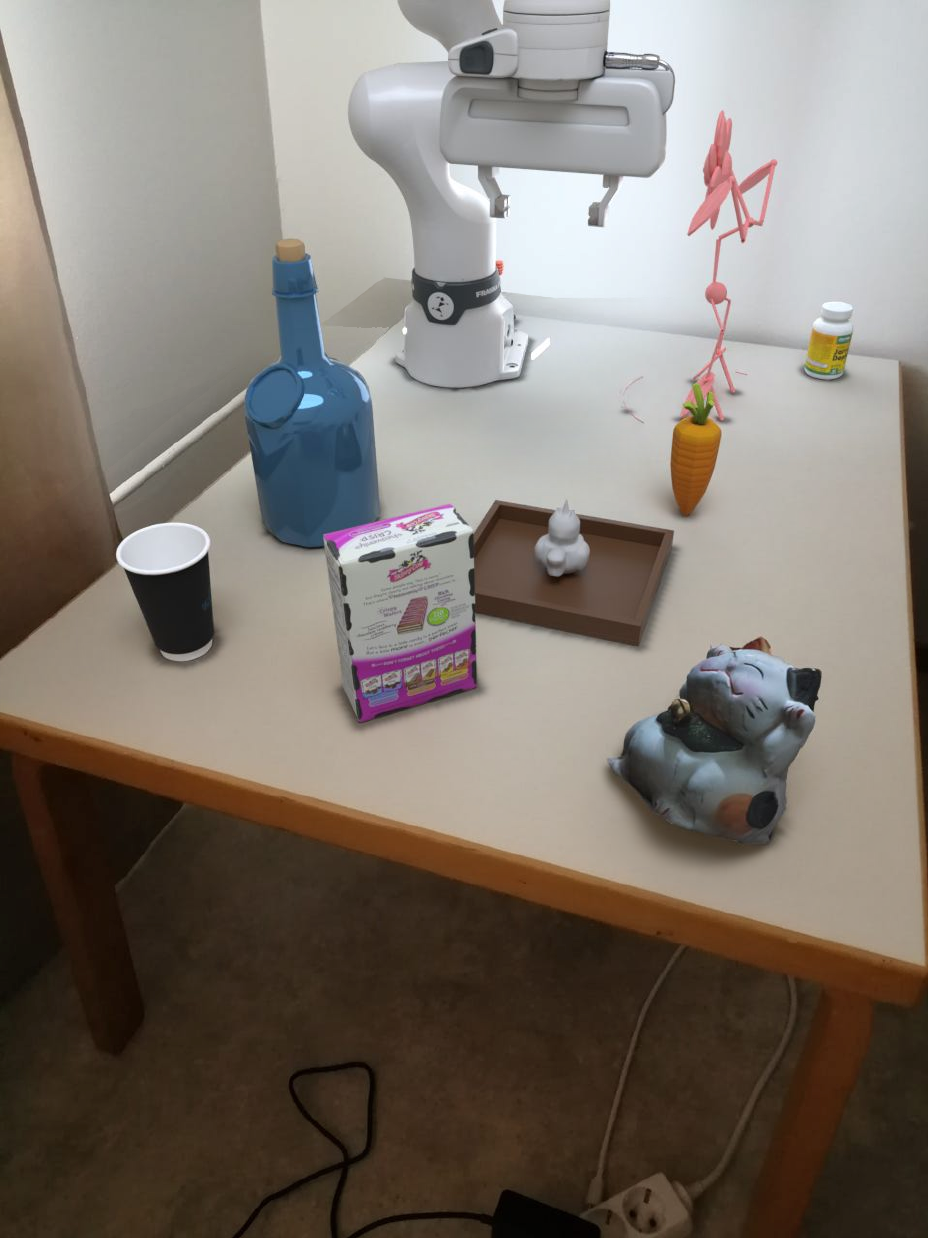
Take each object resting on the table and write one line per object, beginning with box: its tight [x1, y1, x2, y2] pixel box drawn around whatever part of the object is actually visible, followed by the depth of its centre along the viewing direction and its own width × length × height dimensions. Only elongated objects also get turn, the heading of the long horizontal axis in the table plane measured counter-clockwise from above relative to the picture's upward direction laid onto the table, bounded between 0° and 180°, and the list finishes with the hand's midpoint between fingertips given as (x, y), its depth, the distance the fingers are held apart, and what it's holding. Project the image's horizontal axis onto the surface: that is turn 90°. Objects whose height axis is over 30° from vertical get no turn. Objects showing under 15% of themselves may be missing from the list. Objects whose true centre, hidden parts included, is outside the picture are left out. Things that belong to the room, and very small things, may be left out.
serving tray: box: [473, 499, 675, 647], centre depth 98 cm, size 17×20×2 cm
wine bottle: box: [244, 238, 381, 548], centre depth 99 cm, size 14×13×30 cm
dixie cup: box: [115, 522, 215, 662], centre depth 87 cm, size 8×8×11 cm
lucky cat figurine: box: [606, 636, 823, 845], centre depth 72 cm, size 15×12×14 cm
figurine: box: [619, 109, 778, 425], centre depth 121 cm, size 15×26×35 cm, turn 159°
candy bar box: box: [323, 503, 478, 723], centre depth 80 cm, size 11×5×16 cm, turn 114°
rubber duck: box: [534, 498, 590, 577], centre depth 96 cm, size 5×7×8 cm
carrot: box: [670, 382, 722, 517], centre depth 103 cm, size 5×5×15 cm
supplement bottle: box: [804, 300, 854, 380], centre depth 135 cm, size 5×5×10 cm
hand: (547, 220), depth 90 cm, fingers open, 8 cm apart
